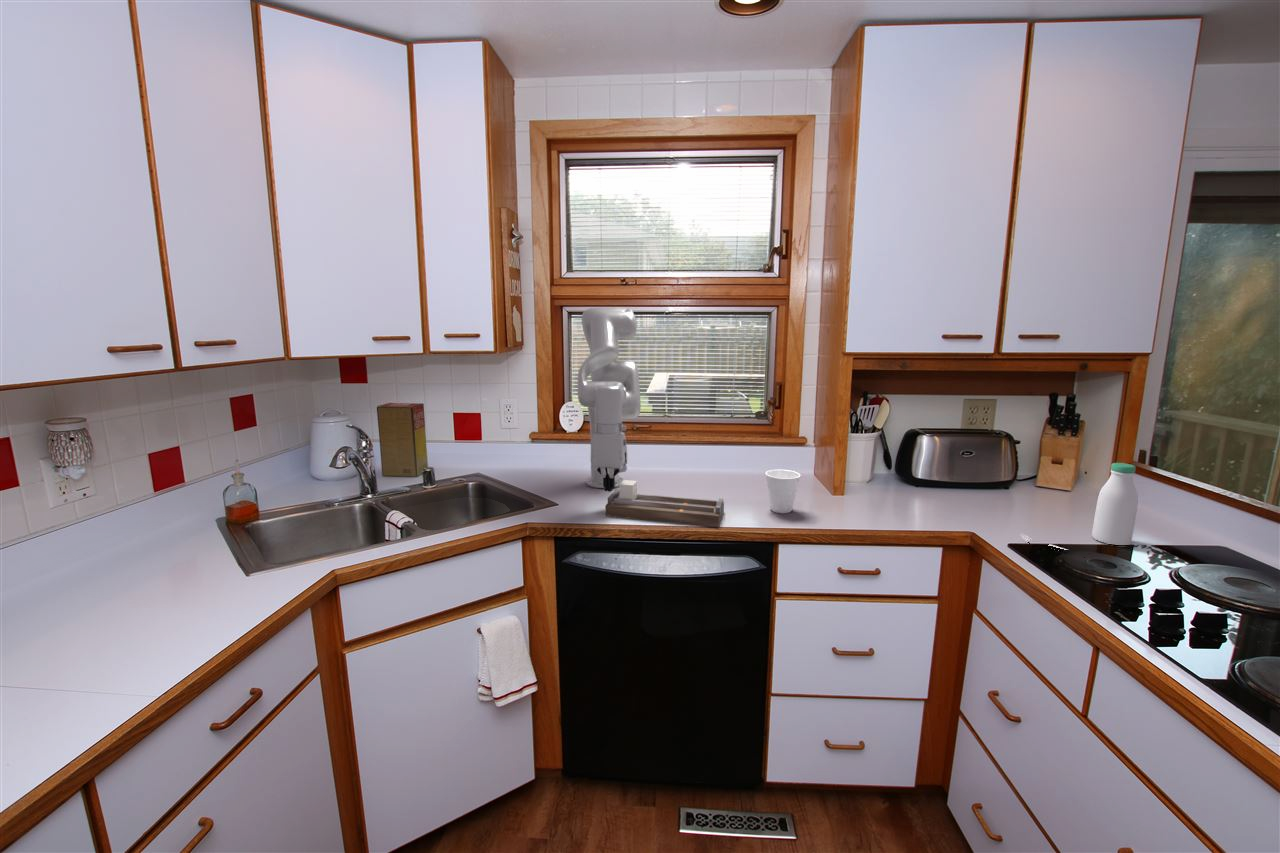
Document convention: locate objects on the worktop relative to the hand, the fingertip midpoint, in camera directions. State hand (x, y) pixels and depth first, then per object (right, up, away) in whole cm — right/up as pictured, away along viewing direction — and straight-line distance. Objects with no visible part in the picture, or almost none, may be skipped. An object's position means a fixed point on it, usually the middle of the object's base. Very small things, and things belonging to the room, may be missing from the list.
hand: (609, 489), depth 165 cm
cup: (+50, -6, 0) cm, 51 cm away
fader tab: (+6, -3, -1) cm, 6 cm away
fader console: (+16, -6, -3) cm, 18 cm away
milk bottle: (+128, -11, -22) cm, 130 cm away
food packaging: (-75, +2, +38) cm, 84 cm away
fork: (+112, -12, -29) cm, 116 cm away
